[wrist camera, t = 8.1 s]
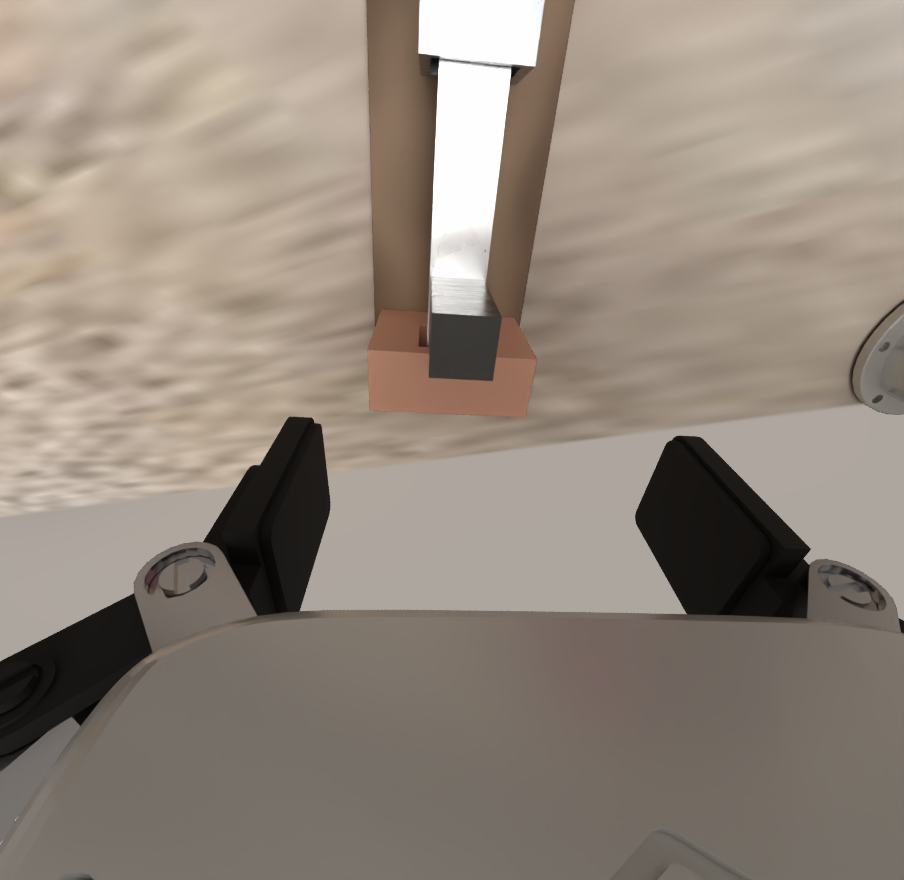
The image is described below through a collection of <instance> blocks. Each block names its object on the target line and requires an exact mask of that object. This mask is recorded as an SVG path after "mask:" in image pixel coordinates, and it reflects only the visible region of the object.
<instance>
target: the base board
mask: <svg viewBox="0 0 904 880" xmlns="http://www.w3.org/2000/svg"><path fill="white" fill-rule="evenodd" d="M574 3H575V0H545V1H544V8H543V15H542V22H541V29H540V36H539V43H538V51H537V58H536V65H535V67H534V68H533V69H532V70H531V71H530V72H529V73H528V74H527V75H526V76H525V77H524V78H523V79H522V80H521V81H520V82H519V83H517V84H516V85H515V86H514V85H509V91H508V99H507V108H506V116H505V125H504V133H503V142H502V150H501V159H500V167H499V176H498V184H497V193H496V201H495V210H494V218H493V227H492V235H491V244H490V252H489V261H488V269H487V278H486V284H487V286H488V289H489V291H490V293H491V295H492V297H493V299H494V301H495V303H496V305H497V308H498V310H499V312H500V314H501V316H502V317H508V318H515V320H516V322H517V324H518V326H519V325H520V319H521V314H522V308H523V302H524V296H525V290H526V284H527V278H528V273H529V267H530V261H531V255H532V249H533V243H534V237H535V231H536V226H537V220H538V214H539V208H540V202H541V196H542V190H543V185H544V179H545V173H546V167H547V161H548V155H549V149H550V143H551V138H552V132H553V126H554V120H555V114H556V108H557V102H558V97H559V91H560V85H561V79H562V73H563V67H564V61H565V55H566V50H567V44H568V38H569V32H570V26H571V20H572V14H573V9H574ZM419 9H420V0H367V38H368V76H369V114H370V152H371V190H372V228H373V266H374V304H375V327H376V324H377V321H378V318H379V315H380V312H381V309H385V310H400V311H415V312H428V294H429V272H430V249H431V227H432V205H433V182H434V160H435V137H436V115H437V92H438V77H433V76H424V75H421V72H420V63H419V54H418V51H419Z"/></svg>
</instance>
